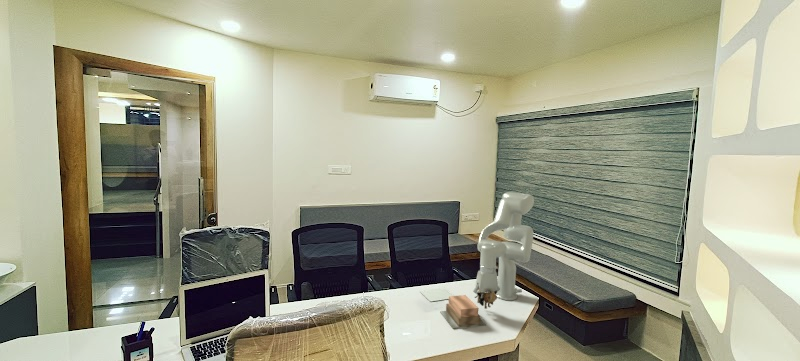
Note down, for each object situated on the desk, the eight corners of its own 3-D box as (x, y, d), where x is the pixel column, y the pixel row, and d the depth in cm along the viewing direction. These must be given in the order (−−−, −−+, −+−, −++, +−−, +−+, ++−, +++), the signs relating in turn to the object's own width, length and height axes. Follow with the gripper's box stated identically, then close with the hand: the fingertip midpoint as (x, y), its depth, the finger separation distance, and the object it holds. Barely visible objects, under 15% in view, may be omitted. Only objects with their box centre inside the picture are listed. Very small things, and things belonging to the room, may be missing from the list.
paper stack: (466, 306, 173) (466, 304, 173) (424, 313, 164) (424, 311, 164) (444, 288, 195) (444, 287, 195) (406, 294, 186) (406, 293, 186)
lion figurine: (498, 310, 159) (499, 292, 158) (490, 312, 157) (491, 294, 156) (478, 297, 172) (479, 281, 171) (470, 299, 170) (471, 282, 169)
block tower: (470, 309, 169) (471, 293, 168) (486, 325, 154) (487, 308, 153) (440, 312, 165) (440, 296, 164) (453, 329, 149) (453, 311, 149)
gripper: (498, 265, 167) (497, 298, 169) (468, 267, 163) (467, 302, 165) (507, 270, 160) (505, 305, 162) (475, 273, 155) (474, 309, 157)
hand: (486, 303), depth 163 cm, fingers closed on lion figurine, 4 cm apart
